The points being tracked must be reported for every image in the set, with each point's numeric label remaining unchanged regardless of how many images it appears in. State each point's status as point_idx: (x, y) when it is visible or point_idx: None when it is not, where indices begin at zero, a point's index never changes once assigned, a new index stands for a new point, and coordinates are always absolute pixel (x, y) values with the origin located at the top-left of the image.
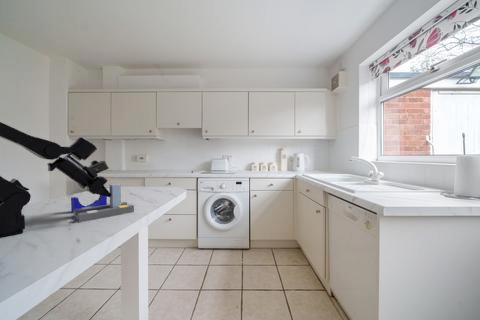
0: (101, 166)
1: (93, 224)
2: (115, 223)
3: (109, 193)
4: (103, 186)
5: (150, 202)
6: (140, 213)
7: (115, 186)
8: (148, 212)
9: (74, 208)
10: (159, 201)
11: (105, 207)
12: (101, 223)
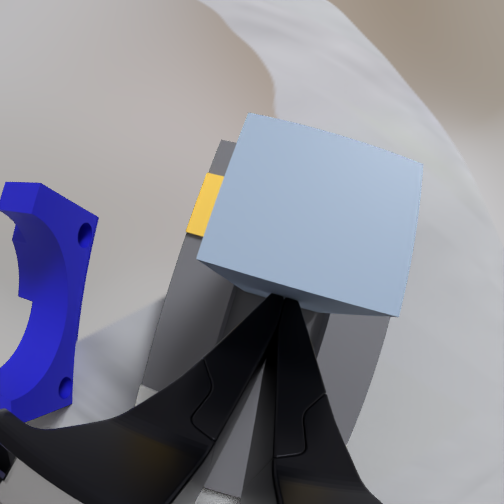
0: None
1: (405, 474)
2: (484, 401)
3: (303, 328)
4: (348, 473)
5: (264, 34)
6: (453, 216)
7: (400, 256)
8: (465, 182)
9: (55, 408)
10: (289, 12)
11: (225, 319)
12: (428, 446)
